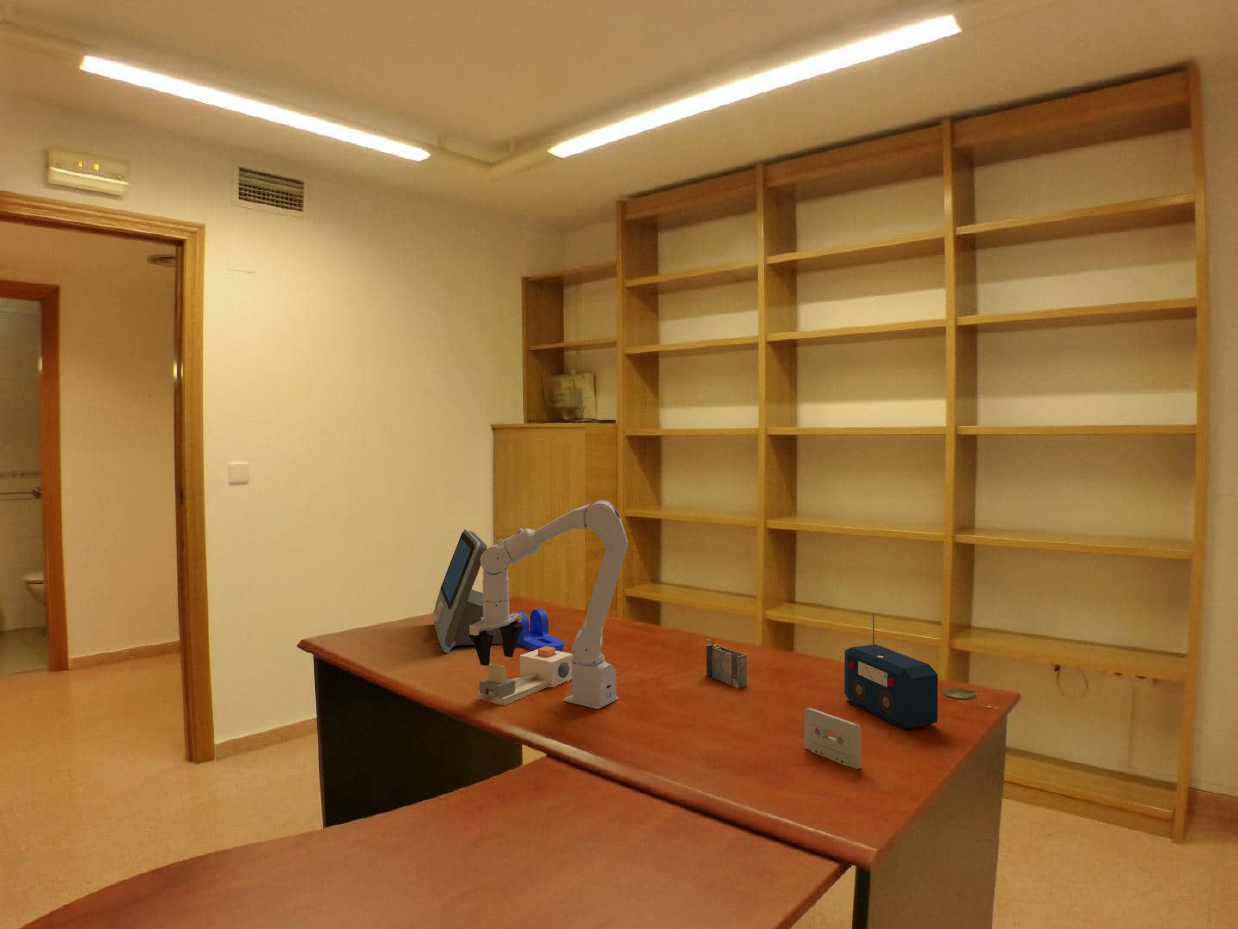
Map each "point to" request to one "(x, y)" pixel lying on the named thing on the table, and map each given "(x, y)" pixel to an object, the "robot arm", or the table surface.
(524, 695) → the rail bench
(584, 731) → the table surface
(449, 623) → the touchscreen device
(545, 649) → the button
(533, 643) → the bracket
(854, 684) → the radio
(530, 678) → the rail
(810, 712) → the cassette
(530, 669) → the cabinet
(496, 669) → the carriage
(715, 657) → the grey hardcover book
